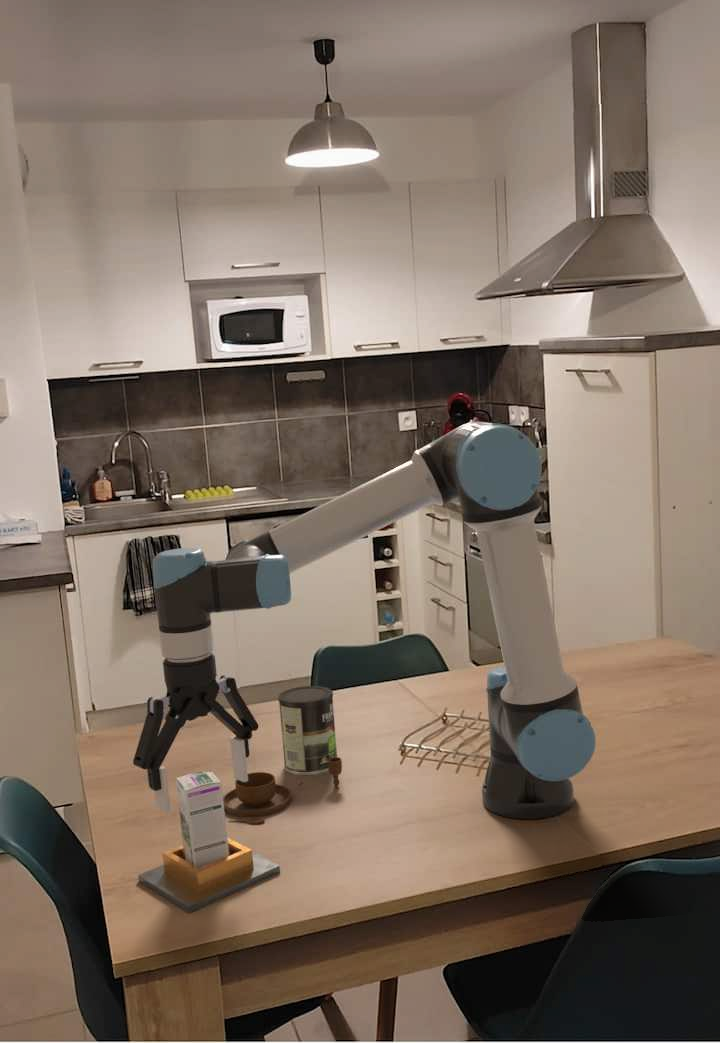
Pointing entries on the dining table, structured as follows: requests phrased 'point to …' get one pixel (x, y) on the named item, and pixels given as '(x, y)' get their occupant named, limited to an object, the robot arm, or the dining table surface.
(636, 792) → the dining table surface
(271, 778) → the place setting
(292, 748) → the coffee can
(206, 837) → the syrup box
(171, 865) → the wooden box on plate
